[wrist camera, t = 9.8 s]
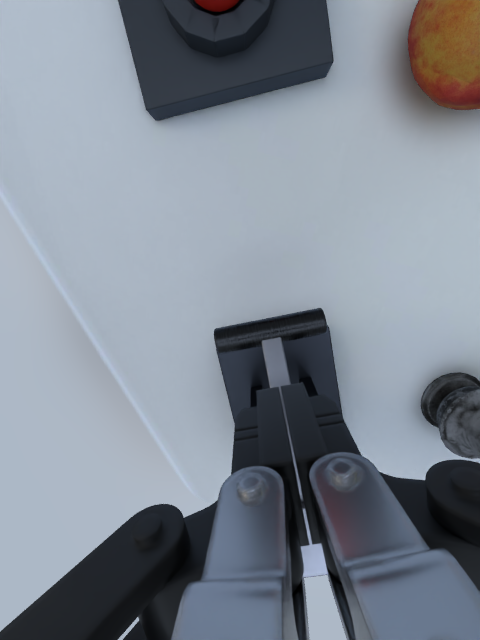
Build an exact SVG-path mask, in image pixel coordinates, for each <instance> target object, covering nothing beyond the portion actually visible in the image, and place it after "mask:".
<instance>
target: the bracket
mask: <svg viewBox="0 0 480 640" xmlns="http://www.w3.org/2000/svg"><path fill="white" fill-rule="evenodd" d="M282 343H283V348H284V353H285V358H286V363H287V367H288V372H289V377H290V382H291V384H295V383H301V382H303V383H304V386H305V389H306V391H307V394H308V397H312V396H318V395H325V396H327V397H328V398H330V399H331V400H333V401H334V402H335V404H336V406H337V408H338V410H339V412H340V414H341V416H342V410H341V403H340V397H339V390H338V384H337V377H336V370H335V364H334V357H333V351H332V344H331V338H330V331H329V327H328V326H327V333H326V334H322V335H317V336H312V337H306V338H301V339H296V340H291V341H285V342H282ZM216 350H217V349H216ZM217 354H218V358H219V362H220V367H221V371H222V375H223V379H224V383H225V387H226V391H227V395H228V399H229V403H230V407H231V411H232V415H233V419H234V423H235V419H236V418H237V416H238V415H239V413H240V412H241V410H242V409H245V408H251V407H256V406H257V396H256V391H257V390H262V389H268V388H270V385H269V380H268V375H267V369H266V364H265V359H264V354H263V348H262V346H259V347H254V348H249V349H243V350H238V351H233V352H228V353H222V354H219V353H218V351H217ZM342 418H343V416H342Z"/></svg>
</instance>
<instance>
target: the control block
mask: <svg viewBox="0 0 480 640" xmlns="http://www.w3.org/2000/svg"><path fill="white" fill-rule="evenodd" d="M118 1H119V5H120V9H121V13H122V17H123V21H124V25H125V29H126V33H127V37H128V41H129V45H130V48H131V52H132V56H133V60H134V64H135V68H136V72H137V76H138V80H139V84H140V88H141V92H142V96H143V99H144V103H145V107H146V110H147V111H148V112H149V114H150V115H151V116H152V117H153V118H154V119H155V120H156V121H157V120H161V119H165V118H169V117H173V116H176V115H180V114H184V113H188V112H192V111H196V110H200V109H204V108H207V107H211V106H215V105H219V104H223V103H227V102H231V101H234V100H238V99H242V98H246V97H250V96H254V95H258V94H262V93H265V92H269V91H273V90H277V89H281V88H285V87H289V86H293V85H296V84H300V83H304V82H308V81H312V80H316V79H320V78H323V77H326V75H327V73H328V71H329V69H330V67H331V65H332V63H333V52H332V44H331V36H330V28H329V19H328V11H327V3H326V0H240V1H239V2H238V3H237V4H236V5H234V6H233V7H232V8H230V9H228V10H225V11H221V12H213V11H209V10H206V9H204V8H203V7H201V6H200V5H198V4H197V3H196V2H195V1H194V0H118Z"/></svg>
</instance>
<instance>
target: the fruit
mask: <svg viewBox="0 0 480 640" xmlns="http://www.w3.org/2000/svg"><path fill="white" fill-rule="evenodd" d="M408 51H409V57H410V63H411V68H412V72H413V76H414V79H415V80H416V82H417V83H418V85H419V86H420V88H421V89H422V90H423V91H424V92H425V93H426V94H427V95H428V96H429V97H430V98H431V99H432V100H433V101H434V102H435V103H437V104H438V105H440V106H443V107H447V108H451V109H456V110H471V109H480V0H419V1H418V3H417V6H416V8H415V10H414V13H413V16H412V20H411V24H410V28H409V33H408Z"/></svg>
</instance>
